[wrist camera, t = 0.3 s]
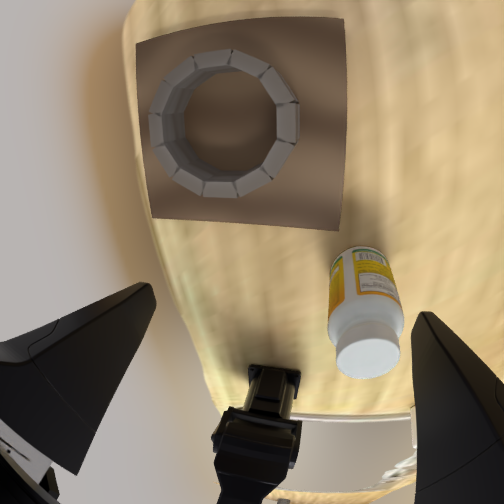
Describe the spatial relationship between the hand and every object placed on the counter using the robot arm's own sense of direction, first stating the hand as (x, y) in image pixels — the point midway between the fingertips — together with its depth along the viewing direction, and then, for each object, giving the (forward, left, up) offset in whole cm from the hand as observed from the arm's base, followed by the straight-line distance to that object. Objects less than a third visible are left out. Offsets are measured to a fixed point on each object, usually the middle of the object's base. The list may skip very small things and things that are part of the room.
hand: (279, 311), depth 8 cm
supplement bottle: (-7, -5, -14) cm, 16 cm away
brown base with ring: (+5, +5, -14) cm, 15 cm away
